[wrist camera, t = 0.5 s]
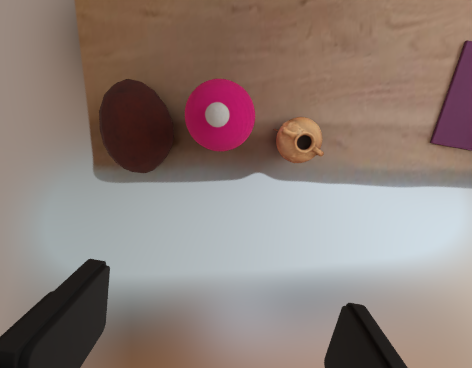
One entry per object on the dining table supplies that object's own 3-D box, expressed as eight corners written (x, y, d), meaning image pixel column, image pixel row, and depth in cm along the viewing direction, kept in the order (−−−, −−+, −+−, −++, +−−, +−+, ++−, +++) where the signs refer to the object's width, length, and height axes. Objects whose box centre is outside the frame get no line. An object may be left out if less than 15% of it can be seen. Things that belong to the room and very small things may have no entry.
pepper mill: (209, 149, 38) (181, 175, 19) (196, 100, 37) (151, 73, 17) (256, 138, 38) (277, 152, 18) (245, 88, 36) (255, 46, 17)
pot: (312, 154, 39) (310, 111, 37) (331, 169, 31) (329, 116, 29) (274, 160, 39) (269, 118, 37) (283, 175, 32) (278, 123, 29)
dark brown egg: (129, 169, 39) (96, 183, 30) (113, 87, 36) (72, 75, 27) (185, 164, 39) (169, 176, 30) (173, 81, 36) (151, 66, 27)
